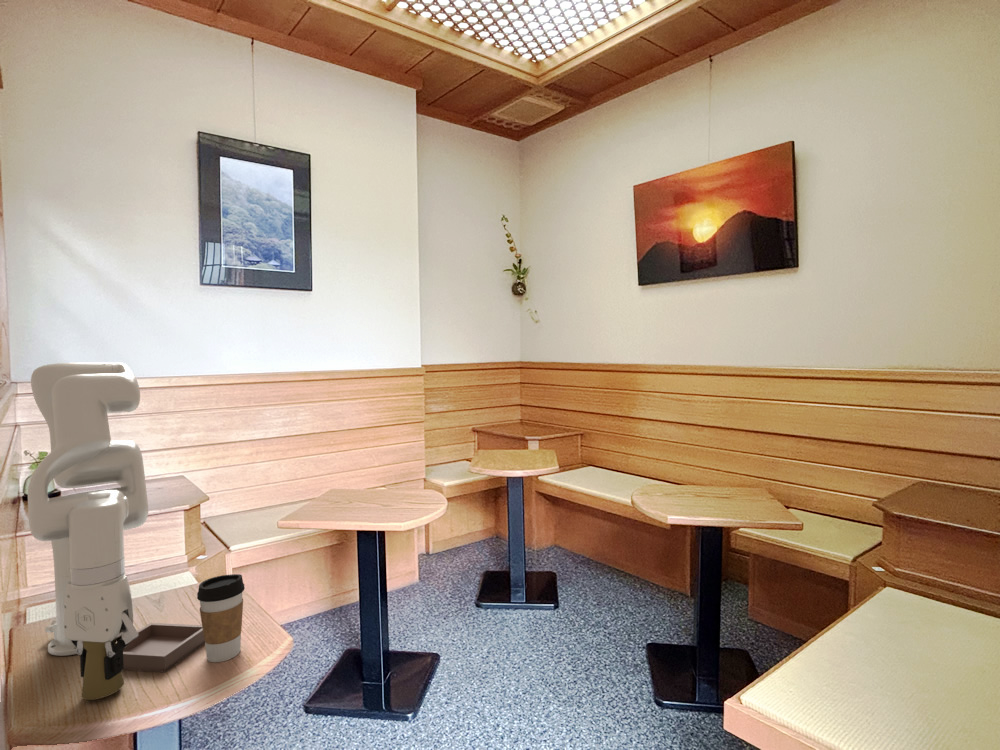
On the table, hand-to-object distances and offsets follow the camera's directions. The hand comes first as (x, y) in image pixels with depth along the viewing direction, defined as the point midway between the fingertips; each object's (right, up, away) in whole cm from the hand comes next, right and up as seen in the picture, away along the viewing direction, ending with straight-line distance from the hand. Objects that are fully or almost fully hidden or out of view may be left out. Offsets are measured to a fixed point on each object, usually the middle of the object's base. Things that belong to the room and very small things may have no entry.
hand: (102, 672), depth 93 cm
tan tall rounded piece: (0, -3, 0) cm, 3 cm away
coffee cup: (+15, -3, +12) cm, 20 cm away
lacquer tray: (+1, -4, +14) cm, 14 cm away
